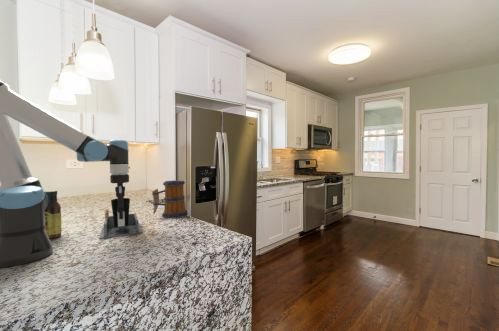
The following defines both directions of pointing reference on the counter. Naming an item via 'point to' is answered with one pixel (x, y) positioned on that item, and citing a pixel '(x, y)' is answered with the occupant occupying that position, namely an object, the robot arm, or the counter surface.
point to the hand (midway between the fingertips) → (121, 223)
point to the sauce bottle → (53, 215)
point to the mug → (171, 199)
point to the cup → (126, 211)
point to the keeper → (113, 231)
